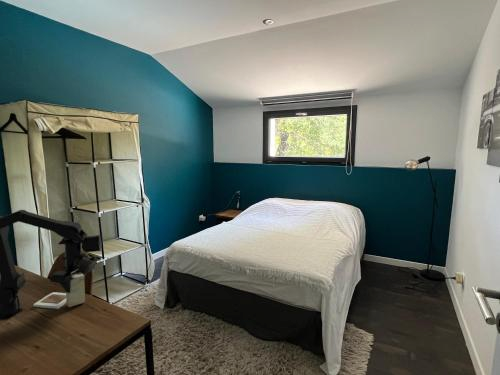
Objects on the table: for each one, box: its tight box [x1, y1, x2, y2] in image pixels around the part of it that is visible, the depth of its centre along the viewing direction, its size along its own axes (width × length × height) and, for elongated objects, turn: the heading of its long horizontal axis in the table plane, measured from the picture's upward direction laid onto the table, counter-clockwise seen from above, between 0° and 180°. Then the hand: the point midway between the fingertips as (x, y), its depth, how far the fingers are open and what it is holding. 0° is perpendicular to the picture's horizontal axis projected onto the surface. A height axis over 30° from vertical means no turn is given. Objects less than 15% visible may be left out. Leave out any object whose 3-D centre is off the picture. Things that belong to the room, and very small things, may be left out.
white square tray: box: [33, 291, 67, 310], centre depth 117 cm, size 10×11×1 cm
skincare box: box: [65, 272, 86, 308], centre depth 114 cm, size 6×4×12 cm
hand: (75, 288), depth 114 cm, fingers closed on skincare box, 7 cm apart
